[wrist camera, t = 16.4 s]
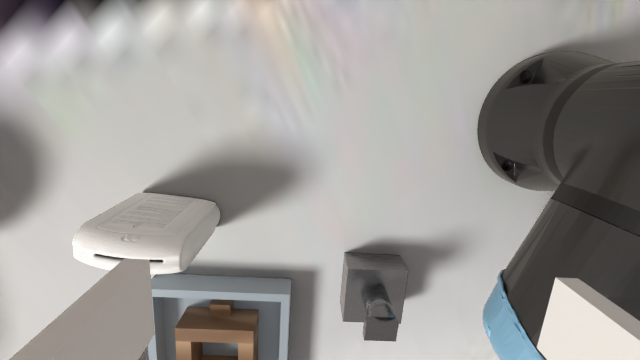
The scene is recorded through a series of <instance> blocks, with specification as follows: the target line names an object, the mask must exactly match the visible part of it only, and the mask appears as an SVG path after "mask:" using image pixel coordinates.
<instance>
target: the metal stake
mask: <svg viewBox="0 0 640 360" xmlns="http://www.w3.org/2000/svg"><path fill="white" fill-rule="evenodd" d="M407 277H408V270H407V268H406V266H405V265H404V263H403V261H402V259H401V257H400V255H385V254H363V253H344V264H343V275H342V286H341V298H340V304H341V311H342V318H343V321H344V322H364V327H363V336H364V340H373V341H396V336H397V329H398V325H399V324H401V319H402V312H403V305H404V298H405V291H406V284H407Z"/></svg>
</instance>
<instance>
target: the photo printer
mask: <svg viewBox="0 0 640 360" xmlns="http://www.w3.org/2000/svg"><path fill="white" fill-rule="evenodd" d="M219 220H220V210H219V208H218V207H217V206H216V203H215V202H212V201H208V200H203V199H197V198H190V197H182V196H174V195H166V194H157V193H138V194H135V195H134V196H132V197H130V198H128V199H127V200H125V201H123V202H121V203H120V204H118V205H116V206H114V207H112V208H111V209H109V210H107V211H105V212H103V213H102V214H100V215H98V216H96V217H94V218H93V219H91V220H89V221H87V222H86V223H84V224H83V225H82V226H81V227H80V228H79V229H78V231H77V232H76V234H75V236H74V238H73V241H72V245H73V248H74V250H73V256H74V257H75V258H76V259H78V260H79V261H81V262H83V263H86V264H88V265H91V266H95V267H98V268H102V269H107V270H112V269H113V268H114V267H115V266H116V265H118V264H119V263H120V262H121V261H122V260H123V259H124V258H125V259H148V260H149V261H150V274H170V273H177V272H182V271H184V270H186V268H187V267H188V266H189V265H190V263H191V262H192V261H193V259H194V258H195V257H196V255H197V254H198V253H199V251H200V250H201V249H202V247H203V246H204V244H205V243H206V242H207V240H208V239H209V238H210V236H211V235H212V233H213V232H214V230H215V227H216V226H217V224H218V223H219Z"/></svg>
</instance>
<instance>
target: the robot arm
mask: <svg viewBox="0 0 640 360" xmlns="http://www.w3.org/2000/svg"><path fill="white" fill-rule="evenodd" d="M478 141H479V146H480V150H481V153H482V155H483V157H484V159H485V161H486V162H487V164H488V165H489V167H490V168H491V169H492V170H493V171H494V172H495V173H496V174H497V175H499V176H500V177H501V178H503V179H505V180H506V181H509V182H511V183H513V184H515V185H518V186H520V187H523V188H526V189H531V190H536V191H555V193H554V194H553V196H552V197H551V198H550V200H549V201H548V203H547V205H546V206H545V208H544V209H543V211H542V213H541V214H540V216H539V218H538V219H537V221H536V223H535V224H534V226H533V227H532V229H531V230H530V232H529V234H528V235H527V237H526V238H525V240H524V241H523V243H522V244H521V246H520V247H519V249H518V251H517V252H516V254H515V255H514V257H513V258H512V260H511V261H510V263H509V265H508V266H507V268H506V269H504V270H501V272H500V273H499V275H498V282H497V284H496V286H495V287H494V289H493V291H492V293H491V295H490V297H489V298H488V300H487V302H486V304H485V306H484V309H483V324H484V328H485V331H486V334H487V336H488V338H489V339H490V343H491V345H492V347H493V349H494V350H495V352H496V354H497V355H498V357H499V358H500V360H640V61H635V62H627V63H614V62H611V61H608V60H605V59H601V58H598V57H595V56H592V55H589V54H585V53H581V52H573V51H562V52H554V53H548V54H542V55H538V56H534V57H531V58H528V59H526V60H524V61H522V62H520V63H518V64H517V65H515V66H514V67H512V68H511V69H509V70H508V71H507V72H506V73H505V74H504V75H503V76H502V77H501V78H500V79H499V80H498V81H497V82H496V83H495V84H494V86H493V87H492V89H491V90H490V92H489V93H488V95H487V97H486V99H485V101H484V103H483V106H482V108H481V112H480V116H479V121H478ZM154 335H155V331H154V317H153V303H152V289H151V275H150V261H149V260H148V259H125V258H124V259H123V260H122V261H121V262H120V263H119V264H118V265H116V266H115V267H114V268H113V269H112V270H111V271H110V272H108V273H107V274H106V275H105V276H104V277H103V278H102V279H100V280H99V281H98V282H97V283H96V284H95V285H94V286H93V287H91V288H90V289H89V290H88V291H87V292H86V293H85V294H83V295H82V296H81V297H80V298H79V299H78V300H77V301H75V302H74V303H73V304H72V305H71V306H70V307H69V308H67V309H66V310H65V311H64V312H63V313H62V314H61V315H60V316H58V317H57V318H56V319H55V320H54V321H53V322H52V323H50V324H49V325H48V326H47V327H46V328H45V329H44V330H42V331H41V332H40V333H39V334H38V335H37V336H36V337H34V338H33V339H32V340H31V341H30V342H29V343H28V344H27V345H25V346H24V347H23V348H22V349H21V350H20V351H19V352H17V353H16V354H15V355H14V356H13V357H12V358H11V359H9V360H138V359H139V358H140V356H141V355H142V353H143V352H144V350H145V349H146V347H147V346H148V344H149V342H150V341H151V339H152V338H153V336H154Z"/></svg>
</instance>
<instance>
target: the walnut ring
mask: <svg viewBox="0 0 640 360" xmlns="http://www.w3.org/2000/svg"><path fill="white" fill-rule="evenodd" d="M258 321H259V309H234V308H233V300H222V299H212V301H211V303H210V308H208V307H187V308H186V310H185V312H184V313H183V315H182V317H181V318H180V320H179V322H178V324H177V325H176V327H175V341H176V359H177V360H258ZM202 342H216V343H238V356H220V355H203V345H202Z"/></svg>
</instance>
